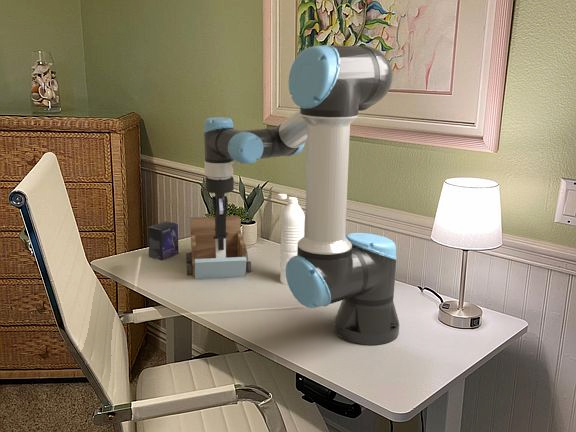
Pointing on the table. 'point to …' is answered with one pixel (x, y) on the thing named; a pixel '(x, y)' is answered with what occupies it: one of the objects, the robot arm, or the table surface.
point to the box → (163, 240)
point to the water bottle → (290, 232)
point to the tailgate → (220, 267)
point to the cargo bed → (206, 244)
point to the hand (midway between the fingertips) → (220, 259)
